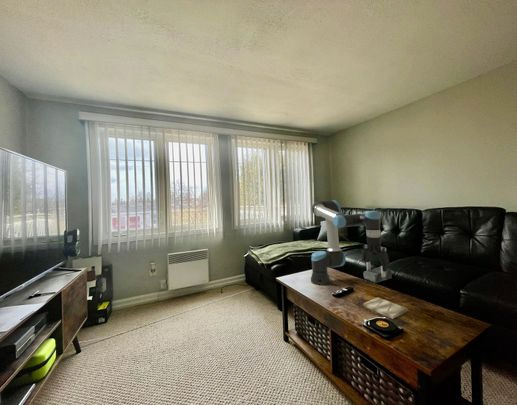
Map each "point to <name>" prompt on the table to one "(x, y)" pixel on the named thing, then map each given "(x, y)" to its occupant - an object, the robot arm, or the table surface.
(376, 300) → the board
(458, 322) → the table surface
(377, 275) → the stone block
